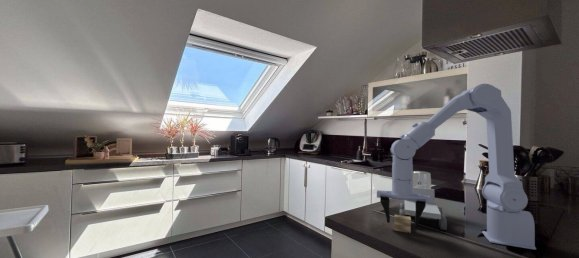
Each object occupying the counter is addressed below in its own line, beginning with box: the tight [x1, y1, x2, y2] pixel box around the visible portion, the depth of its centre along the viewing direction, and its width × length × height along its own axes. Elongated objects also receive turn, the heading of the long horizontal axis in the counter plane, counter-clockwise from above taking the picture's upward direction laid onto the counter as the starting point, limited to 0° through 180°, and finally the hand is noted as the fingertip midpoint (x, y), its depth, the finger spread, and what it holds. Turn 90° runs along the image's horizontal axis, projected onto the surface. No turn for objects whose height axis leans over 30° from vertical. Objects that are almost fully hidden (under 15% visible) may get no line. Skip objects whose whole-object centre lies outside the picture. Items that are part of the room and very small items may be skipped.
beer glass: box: [413, 170, 432, 189], centre depth 93 cm, size 7×7×15 cm
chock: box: [393, 214, 412, 234], centre depth 76 cm, size 4×5×4 cm
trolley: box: [399, 187, 448, 231], centre depth 82 cm, size 13×13×10 cm
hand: (402, 223), depth 74 cm, fingers open, 7 cm apart
